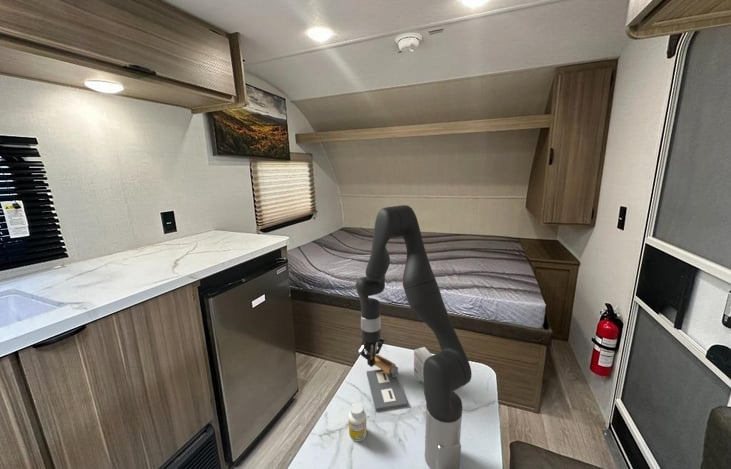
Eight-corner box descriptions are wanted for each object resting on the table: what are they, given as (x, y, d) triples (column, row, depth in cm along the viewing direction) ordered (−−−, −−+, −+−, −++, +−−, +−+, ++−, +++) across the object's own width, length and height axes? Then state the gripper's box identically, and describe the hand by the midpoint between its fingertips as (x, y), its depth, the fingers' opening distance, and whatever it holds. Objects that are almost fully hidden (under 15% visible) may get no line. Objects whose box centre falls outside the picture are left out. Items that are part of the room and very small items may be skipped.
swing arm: (393, 377, 107) (393, 369, 107) (371, 363, 115) (371, 356, 114) (400, 371, 110) (400, 364, 109) (378, 358, 118) (378, 351, 117)
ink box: (436, 386, 106) (437, 359, 103) (425, 390, 104) (425, 362, 102) (423, 371, 114) (424, 345, 111) (412, 375, 112) (413, 349, 109)
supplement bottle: (355, 423, 92) (354, 398, 90) (370, 431, 89) (369, 405, 87) (345, 436, 88) (344, 410, 85) (360, 445, 85) (359, 418, 83)
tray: (407, 406, 98) (407, 399, 97) (375, 411, 96) (375, 404, 96) (393, 370, 115) (393, 364, 115) (366, 373, 114) (366, 368, 113)
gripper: (364, 336, 102) (365, 378, 106) (389, 323, 111) (389, 362, 115) (351, 328, 107) (352, 368, 112) (376, 316, 116) (376, 353, 120)
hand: (371, 365), depth 113 cm, fingers closed
